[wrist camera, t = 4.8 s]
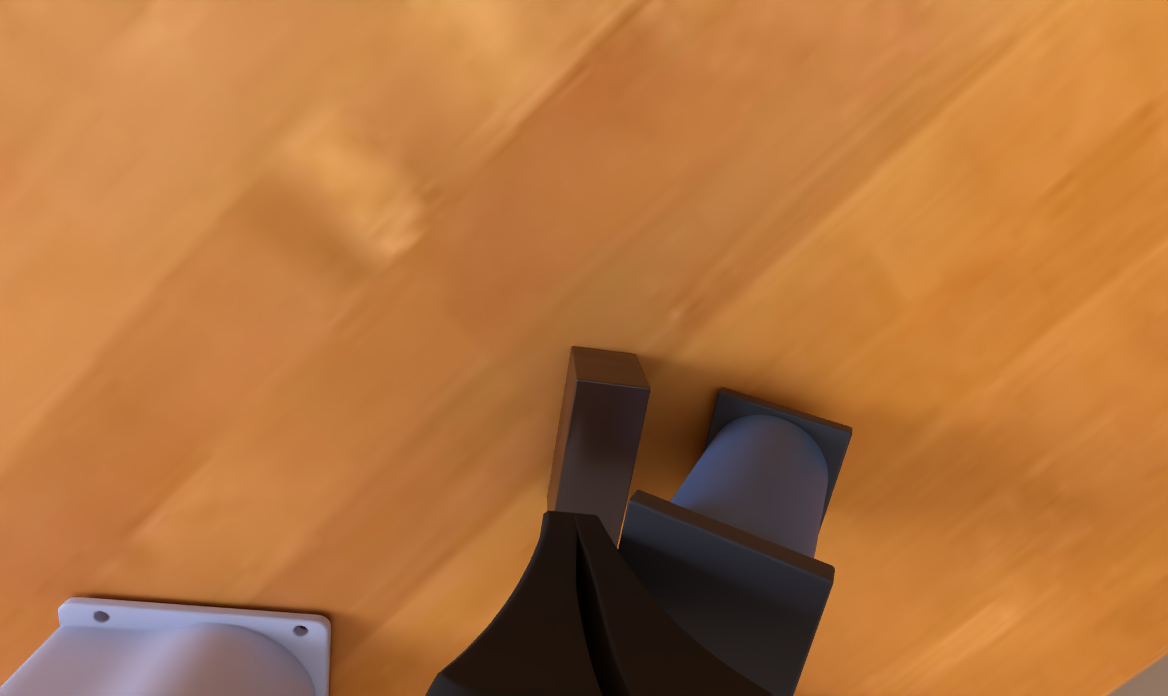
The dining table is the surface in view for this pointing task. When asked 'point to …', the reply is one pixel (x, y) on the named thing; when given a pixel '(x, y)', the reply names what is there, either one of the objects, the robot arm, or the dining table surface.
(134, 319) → the dining table surface
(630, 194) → the dining table surface
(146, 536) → the dining table surface
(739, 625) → the spool
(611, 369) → the block
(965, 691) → the dining table surface
